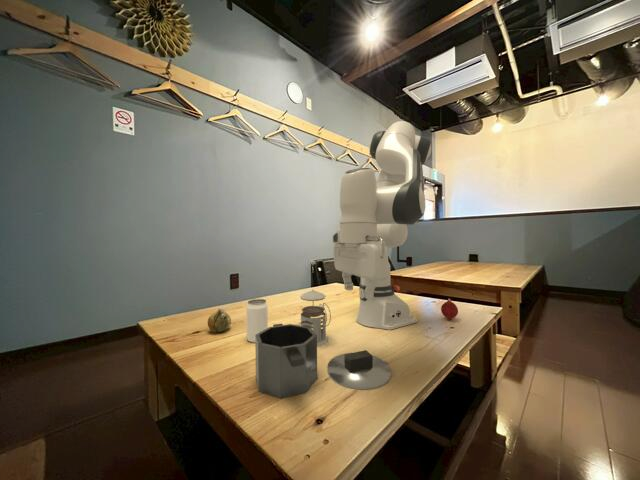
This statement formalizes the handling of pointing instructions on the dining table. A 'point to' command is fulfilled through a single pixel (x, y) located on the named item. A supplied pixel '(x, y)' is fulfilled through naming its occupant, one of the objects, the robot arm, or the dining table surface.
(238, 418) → the dining table surface
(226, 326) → the onion
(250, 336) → the can
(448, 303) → the onion
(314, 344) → the pot
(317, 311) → the french press
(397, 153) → the robot arm
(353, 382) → the lid
